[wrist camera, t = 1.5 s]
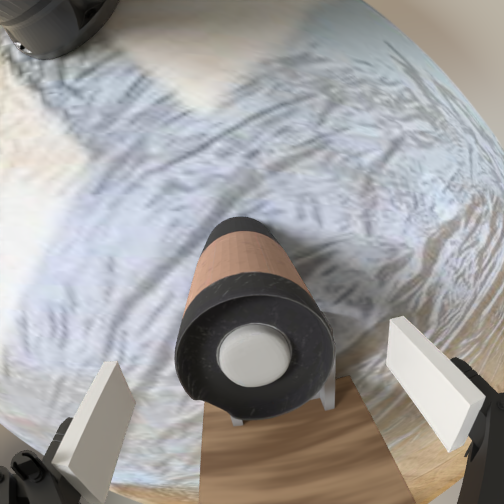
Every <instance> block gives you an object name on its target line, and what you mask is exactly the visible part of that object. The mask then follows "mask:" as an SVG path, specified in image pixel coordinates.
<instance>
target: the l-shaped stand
mask: <svg viewBox="0 0 504 504" xmlns="http://www.w3.org/2000/svg"><path fill="white" fill-rule="evenodd" d="M321 313H322V312H321ZM322 314H323V313H322ZM323 316H324V315H323ZM324 318H325V316H324ZM325 319H326V318H325ZM326 321H327V320H326ZM327 323H328V321H327ZM328 325H329V323H328ZM329 328H330V330H331V332H332V336H333V330H332V328H331V326H330V325H329ZM334 345H335V359H334V364H333V368H332V370H331V373H330V376H329V377H328V379H327V381H326V383H325V384H324V386H323V387H322V388H321V390H320V391H319V392H318V393H317V394H316V395H315V396H314V397H313V398H312V399H310V400H309V401H308V402H307V403H305V404H304V405H302V406H301V407H299V408H297V409H295V410H294V411H291V412H289V413H287V414H284V415H281V416H278V417H274V418H270V419H264V420H251V421H248V420H238V419H235V418H233V417H232V416H231V415H230V414H229V413H227V412H226V411H224V410H222V409H220V408H218V407H216V406H214V405H212V404H210V403H207V402H205V403H204V416H203V431H202V447H201V465H200V485H199V504H416V502H415V500H414V498H413V496H412V494H411V492H410V490H409V488H408V486H407V484H406V482H405V480H404V478H403V476H402V474H401V472H400V470H399V468H398V466H397V464H396V462H395V460H394V459H393V457H392V455H391V453H390V451H389V449H388V447H387V445H386V443H385V441H384V439H383V437H382V435H381V434H380V432H379V430H378V428H377V426H376V424H375V422H374V420H373V418H372V416H371V415H370V413H369V411H368V409H367V407H366V405H365V403H364V402H363V400H362V398H361V396H360V394H359V392H358V390H357V389H356V387H355V385H354V383H353V381H352V379H351V377H350V376H346V377H342V378H338V379H335V360H336V344H335V342H334Z"/></svg>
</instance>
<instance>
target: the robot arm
mask: <svg viewBox="0 0 504 504" xmlns="http://www.w3.org/2000/svg"><path fill="white" fill-rule="evenodd" d="M118 1H119V0H0V25H2V26H3V27H4V29H5V30H6V32H7V34H8V35H9V37H10V38H11V40H12V41H13V43H14V44H15V46H16V47H17V48H18V49H19V50H20V51H21V52H22V53H24V54H26V55H28V56H30V57H33V58H36V59H51V58H55V57H59V56H61V55H64V54H66V53H68V52H70V51H72V50H74V49H75V48H77V47H78V46H80V45H81V44H83V43H84V42H85V41H87V40H88V39H89V38H90V37H92V36H93V35H94V34H95V33H96V32H97V31H98V30H99V29H100V28H101V27H102V26H103V24H104V23H105V22H106V21H107V20H108V18H109V17H110V15H111V14H112V12H113V11H114V9H115V7H116V5H117V3H118ZM386 365H387V367H388V368H389V369H390V371H391V372H392V373H393V375H394V376H395V377H396V379H397V380H398V382H399V383H400V384H401V386H402V387H403V388H404V390H405V391H406V393H407V394H408V395H409V397H410V398H411V399H412V401H413V402H414V404H415V405H416V406H417V408H418V409H419V411H420V412H421V413H422V415H423V416H424V418H425V419H426V421H427V422H428V423H429V425H430V426H431V428H432V429H433V431H434V432H435V433H436V435H437V436H438V438H439V439H440V441H441V442H442V444H443V445H444V447H445V448H446V449H447V451H448V452H451V451H453V450H455V449H457V448H459V447H461V446H463V445H464V443H465V441H466V439H467V437H468V436H469V437H470V438H471V439H472V442H471V444H470V446H469V448H468V450H467V451H466V453H465V456H464V457H467V455H468V453H469V455H468V460H467V465H466V470H465V474H464V479H463V483H462V487H461V491H460V495H459V498H458V502H457V504H504V393H499V394H498V393H497V392H496V391H495V390H494V389H493V388H492V387H491V386H490V385H489V384H488V383H487V382H486V381H485V380H484V379H483V378H482V377H481V376H480V375H478V373H477V372H476V371H475V370H474V369H473V370H472V368H471V367H470V366H469V365H468V364H467V363H466V362H465V361H463V360H461V359H459V358H456V357H455V358H452V359H450V360H449V359H448V358H447V357H446V356H445V355H444V354H443V353H442V352H441V351H440V350H439V349H438V348H437V347H436V346H435V345H434V344H433V343H432V342H431V341H430V340H429V339H427V338H426V337H425V336H424V335H423V334H422V333H421V332H420V331H419V330H418V329H417V328H416V327H415V326H414V325H413V324H412V323H410V322H409V321H408V320H407V319H406V318H405V317H404V316H400V317H397V318H393V319H390V326H389V338H388V349H387V359H386ZM135 404H136V402H135V400H134V398H133V396H132V393H131V391H130V389H129V387H128V385H127V382H126V380H125V378H124V376H123V373H122V371H121V368H120V366H119V364H118V361H110V362H104V363H103V365H102V366H101V368H100V370H99V372H98V373H97V375H96V377H95V379H94V381H93V382H92V384H91V386H90V388H89V390H88V391H87V393H86V395H85V397H84V399H83V401H82V403H81V404H80V406H79V408H78V410H77V412H76V414H75V416H74V418H70V417H68V418H67V419H66V420H65V421H64V422H63V423H62V424H61V425H60V427H59V429H58V430H57V432H56V434H55V436H54V438H53V441H52V442H51V444H50V446H49V448H48V450H47V452H46V454H45V456H44V458H43V460H42V461H41V460H40V459H39V458H38V457H37V455H36V454H35V453H34V452H32V451H29V450H25V451H21V452H19V453H17V454H16V455H15V456H14V457H13V459H12V461H11V468H12V469H13V470H14V471H15V473H16V474H11V473H10V472H9V470H8V469H7V468H5V467H3V466H0V504H81V503H80V502H79V500H80V497H81V496H82V497H83V498H84V499H85V500H86V501H87V502H88V503H93V504H105V501H106V498H107V494H108V490H109V487H110V483H111V480H112V477H113V473H114V470H115V466H116V463H117V460H118V456H119V453H120V450H121V447H122V444H123V440H124V437H125V434H126V431H127V428H128V425H129V422H130V419H131V416H132V413H133V410H134V407H135Z"/></svg>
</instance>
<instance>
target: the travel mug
mask: <svg viewBox="0 0 504 504" xmlns="http://www.w3.org/2000/svg"><path fill="white" fill-rule="evenodd" d="M334 359H335V345H334V339H333V336H332V332H331V330H330V328H329V325H328V323H327V321H326V319H325V318H324V316H323V314H322V313H321V311H320V309H319V308H318V306H317V304H316V302H315V301H314V299H313V297H312V296H311V294H310V292H309V291H308V289H307V287H306V285H305V284H304V282H303V280H302V279H301V277H300V275H299V274H298V272H297V270H296V269H295V267H294V265H293V264H292V262H291V260H290V259H289V257H288V255H287V254H286V252H285V251H284V249H283V248H282V247H281V246H280V244H279V243H278V242H277V240H276V239H275V238H274V237H273V235H272V234H271V233H270V232H269V231H268V230H267V228H266V227H265V226H264V225H262V224H261V223H260V222H258V221H256V220H254V219H252V218H248V217H233V218H229V219H227V220H225V221H223V222H221V223H220V224H218V225H217V226H216V227H215V228H214V230H213V231H212V232H211V234H210V236H209V238H208V240H207V242H206V244H205V247H204V249H203V251H202V254H201V256H200V258H199V261H198V263H197V266H196V270H195V274H194V277H193V281H192V284H191V288H190V292H189V296H188V299H187V303H186V307H185V311H184V314H183V318H182V322H181V326H180V330H179V334H178V338H177V342H176V347H175V368H176V372H177V375H178V378H179V380H180V383H181V385H182V386H183V388H184V390H185V391H186V393H187V394H188V395H189V396H190V397H191V398H192V399H193V400H202V401H205V402H207V403H210V404H212V405H214V406H216V407H218V408H220V409H222V410H224V411H226V412H227V413H229V414H230V415H231V416H232V417H233V418H235V419H238V420H248V421H251V420H264V419H270V418H274V417H278V416H281V415H284V414H287V413H289V412H291V411H294V410H295V409H297V408H299V407H301V406H302V405H304V404H305V403H307V402H308V401H309V400H310V399H312V398H313V397H314V396H315V395H316V394H317V393H318V392H319V391H320V390H321V388H322V387H323V386H324V384H325V383H326V381H327V379H328V377H329V376H330V373H331V370H332V368H333V364H334Z"/></svg>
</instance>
